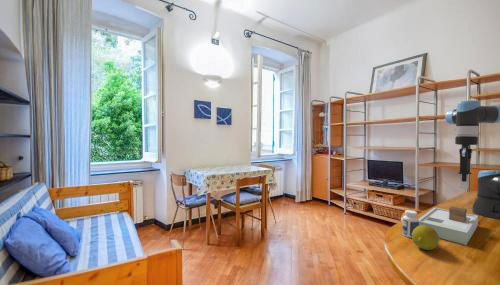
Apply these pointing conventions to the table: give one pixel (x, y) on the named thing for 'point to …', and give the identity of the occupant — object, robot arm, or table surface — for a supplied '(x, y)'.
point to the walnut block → (457, 214)
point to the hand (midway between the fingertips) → (464, 188)
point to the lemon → (425, 237)
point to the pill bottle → (409, 223)
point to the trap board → (450, 225)
